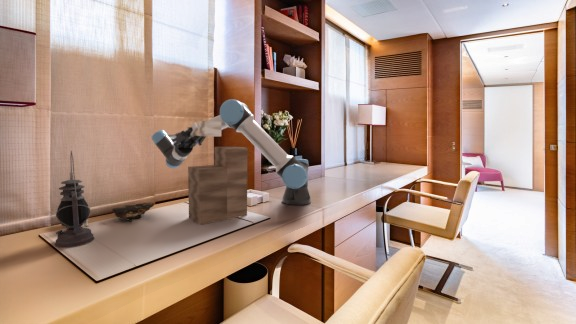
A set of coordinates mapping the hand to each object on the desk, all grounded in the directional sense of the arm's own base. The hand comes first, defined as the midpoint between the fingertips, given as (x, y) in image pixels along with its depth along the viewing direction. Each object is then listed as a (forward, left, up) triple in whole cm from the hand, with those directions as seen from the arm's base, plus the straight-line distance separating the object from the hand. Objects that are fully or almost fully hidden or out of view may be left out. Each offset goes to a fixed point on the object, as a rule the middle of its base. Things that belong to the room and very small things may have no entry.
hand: (200, 125), depth 126 cm
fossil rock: (+27, -5, -40) cm, 48 cm away
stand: (-7, +4, -39) cm, 40 cm away
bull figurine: (+45, 0, -40) cm, 60 cm away
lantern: (+42, +18, -40) cm, 60 cm away
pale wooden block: (0, +1, -5) cm, 5 cm away
